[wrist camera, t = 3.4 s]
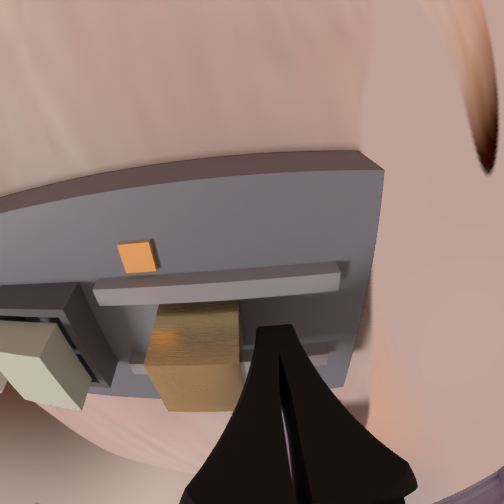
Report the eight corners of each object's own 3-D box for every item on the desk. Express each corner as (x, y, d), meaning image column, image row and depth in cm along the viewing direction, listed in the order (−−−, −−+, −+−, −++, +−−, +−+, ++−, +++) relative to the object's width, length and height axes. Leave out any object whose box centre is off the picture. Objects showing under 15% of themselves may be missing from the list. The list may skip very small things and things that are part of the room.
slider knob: (244, 350, 13) (247, 410, 10) (176, 353, 13) (168, 411, 10) (238, 298, 11) (239, 363, 9) (159, 303, 11) (143, 365, 9)
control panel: (333, 353, 18) (349, 411, 14) (18, 354, 18) (-2, 396, 14) (358, 150, 11) (408, 189, 8) (-56, 216, 11) (-96, 252, 8)
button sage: (91, 378, 12) (81, 410, 10) (36, 371, 12) (24, 399, 10) (56, 322, 10) (39, 357, 8) (0, 320, 10) (-17, 348, 8)
